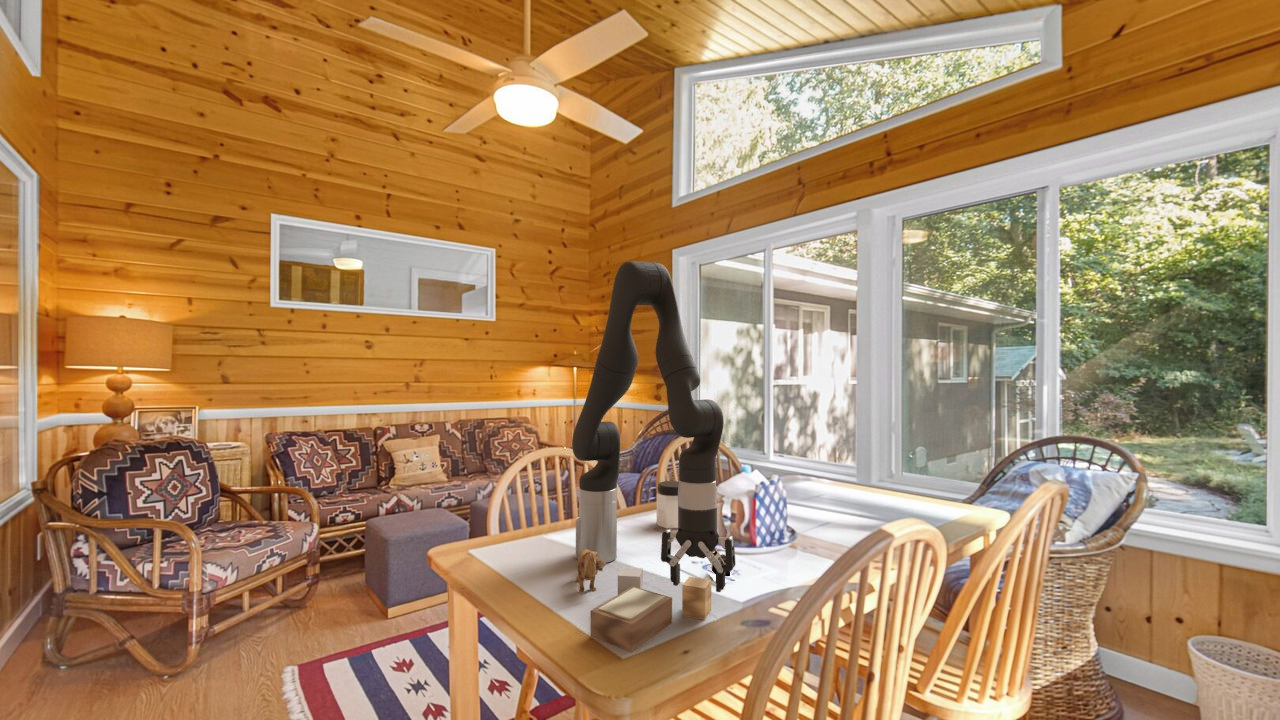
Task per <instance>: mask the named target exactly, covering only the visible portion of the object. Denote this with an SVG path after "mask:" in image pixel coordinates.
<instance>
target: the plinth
mask: <svg viewBox="0 0 1280 720" xmlns="http://www.w3.org/2000/svg"><path fill="white" fill-rule="evenodd" d="M589 618H590V621H589V623H590V624H589V625H590V629H589V630H590V632H589V633H590V638H592V639H595V640H597V641H600V642H603V643H606V644H609V645H610V646H611V645H612V646H615V647H617V648H620V649H623V650H626V651H628V652H631V653H632V652H633V653H634V651H635V650H637V649H638V648H640V647H641V646H642V645H643V644H645V643H646V642H648V641H649V640H650V639H652V638H653V637H655V635H657V634H659V633H660V632H661V631H662V630H664V629H666V628H667V627H668V626H670V625H671V624H672V623H673V597H672V596H668V595H664V594H661V593H658V592H654V591H650V590H646V589H640V588H637V587H633V586H632V587H631V588H629V589H627V590H625V591H624V592H622V593H620V594H619V595H618V594H617V595H615V596H614V597H612V598H610V599H608V600H607V601H605V602H603V603H601V604H599V605H598V606H596V607H595V608H593V609H591V610H590V617H589Z"/></svg>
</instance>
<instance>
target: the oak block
mask: <svg viewBox="0 0 1280 720" xmlns="http://www.w3.org/2000/svg"><path fill="white" fill-rule="evenodd" d="M681 587H682V588H681V589H682V592H681V593H682V595H681V596H682V597H681V598H682V599H681V601H682V602H681V603H682V604H681V605H682V607H681V609H682V610H681V611H682V612H681V613H682V617H686V618H687V617H688V618H691V619H692V618H693V619H699V620H705V621H706V619H707V618H708V616H709V614H710V613H711V611H712V579H707V578H701V577H697V576H696V577H694V576H688V577H687V579H686V580H685V581H684V583H682V586H681Z"/></svg>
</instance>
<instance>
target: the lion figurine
mask: <svg viewBox="0 0 1280 720" xmlns="http://www.w3.org/2000/svg"><path fill="white" fill-rule="evenodd" d="M597 555H598V554H597V552H592V551H590V550H587V549H585V550H582V551H581V552H580V554H579V557H578V559H577V560H578V561H577V572H578V573H577V577H576V578H575V582H578V586H579V588H578V593H579V594H584V593H585V585H584V580H585V581H590V582H589V590H590V591H591V592H595V591H597V588H596V587H595V580H596V575H598V572H603V570H604V567H605V566H606V563H605V562H603V561H602V560H601V559H600V558H599V557H598V556H597Z"/></svg>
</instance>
